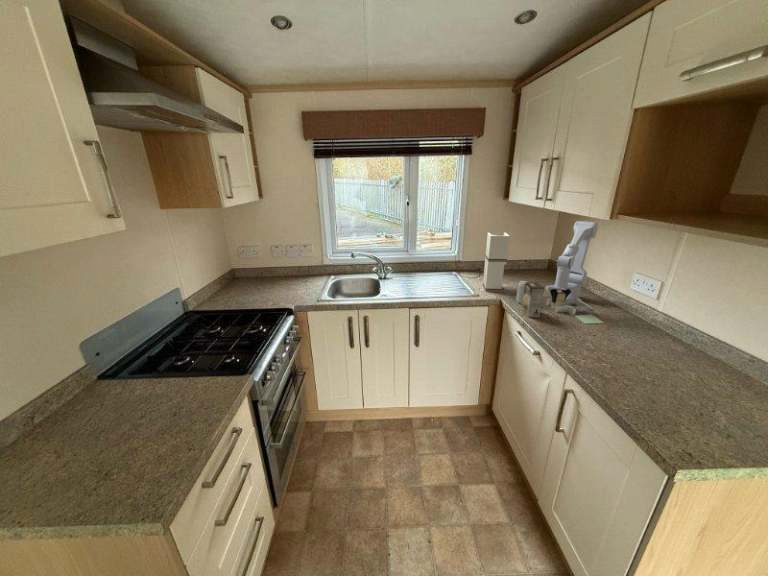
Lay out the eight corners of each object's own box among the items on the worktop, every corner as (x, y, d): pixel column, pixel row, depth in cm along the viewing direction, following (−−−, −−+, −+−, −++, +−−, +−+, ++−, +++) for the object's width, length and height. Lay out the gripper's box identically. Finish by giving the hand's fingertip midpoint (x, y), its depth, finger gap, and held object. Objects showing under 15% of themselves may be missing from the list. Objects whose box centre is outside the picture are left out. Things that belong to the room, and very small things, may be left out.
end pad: (574, 315, 155) (574, 315, 154) (591, 315, 154) (592, 314, 154) (585, 323, 146) (585, 323, 146) (603, 323, 146) (604, 322, 146)
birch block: (551, 306, 166) (553, 291, 163) (558, 306, 166) (561, 291, 163) (555, 309, 162) (557, 294, 159) (562, 309, 162) (565, 293, 159)
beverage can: (529, 304, 169) (532, 284, 165) (517, 304, 170) (519, 284, 166) (526, 300, 175) (529, 280, 171) (514, 299, 176) (517, 280, 172)
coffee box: (520, 309, 163) (524, 281, 158) (533, 309, 163) (537, 281, 157) (527, 317, 154) (531, 287, 149) (540, 317, 154) (545, 287, 149)
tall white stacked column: (503, 292, 188) (509, 235, 176) (485, 291, 190) (490, 235, 178) (499, 286, 199) (505, 232, 187) (482, 285, 200) (487, 232, 189)
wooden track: (546, 304, 169) (547, 298, 168) (575, 303, 169) (576, 298, 168) (560, 315, 155) (562, 309, 154) (592, 315, 155) (594, 308, 154)
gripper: (552, 280, 154) (548, 305, 159) (581, 280, 154) (575, 304, 159) (545, 276, 161) (541, 300, 166) (573, 276, 161) (568, 299, 166)
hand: (557, 302), depth 163 cm, fingers closed on birch block, 4 cm apart
